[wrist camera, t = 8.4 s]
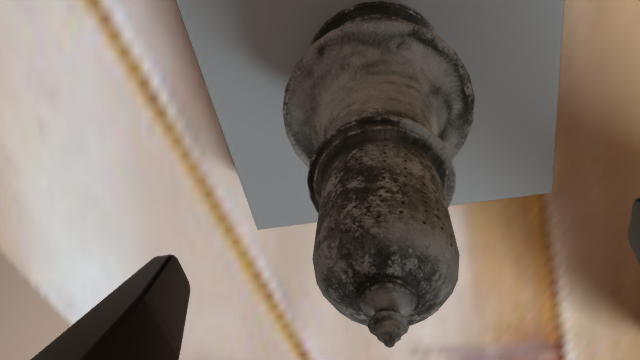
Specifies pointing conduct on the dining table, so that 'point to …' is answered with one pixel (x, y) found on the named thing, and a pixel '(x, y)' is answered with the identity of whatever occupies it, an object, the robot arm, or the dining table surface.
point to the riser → (450, 24)
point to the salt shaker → (381, 161)
